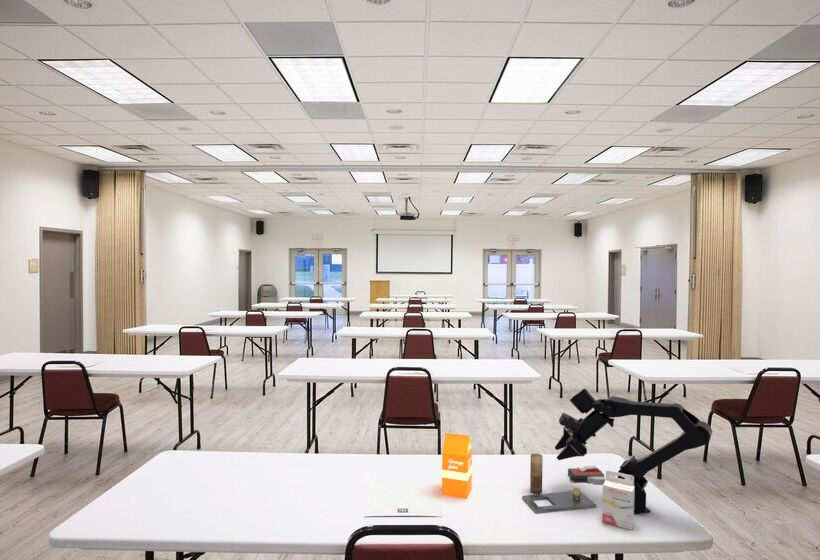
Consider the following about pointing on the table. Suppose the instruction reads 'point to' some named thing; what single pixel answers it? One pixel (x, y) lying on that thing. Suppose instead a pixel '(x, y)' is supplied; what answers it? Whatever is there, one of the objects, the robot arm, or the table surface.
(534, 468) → the peg
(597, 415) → the robot arm
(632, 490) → the ink cartridge box
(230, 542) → the table surface
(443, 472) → the orange juice
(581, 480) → the red gray flat block
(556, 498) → the plate
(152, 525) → the table surface
